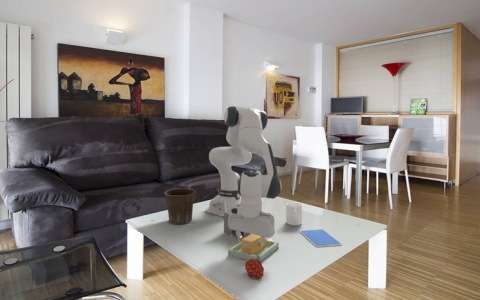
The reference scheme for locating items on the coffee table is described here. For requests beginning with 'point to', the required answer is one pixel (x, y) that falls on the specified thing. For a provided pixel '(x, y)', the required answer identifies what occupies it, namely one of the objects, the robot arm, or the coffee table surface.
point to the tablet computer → (320, 238)
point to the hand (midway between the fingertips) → (250, 243)
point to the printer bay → (226, 228)
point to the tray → (261, 255)
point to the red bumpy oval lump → (254, 268)
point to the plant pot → (180, 205)
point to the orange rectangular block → (252, 244)
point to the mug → (294, 213)
